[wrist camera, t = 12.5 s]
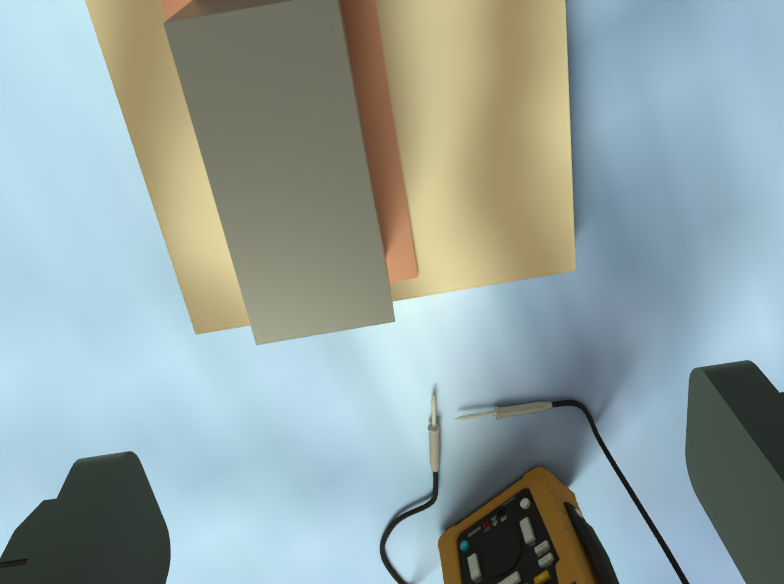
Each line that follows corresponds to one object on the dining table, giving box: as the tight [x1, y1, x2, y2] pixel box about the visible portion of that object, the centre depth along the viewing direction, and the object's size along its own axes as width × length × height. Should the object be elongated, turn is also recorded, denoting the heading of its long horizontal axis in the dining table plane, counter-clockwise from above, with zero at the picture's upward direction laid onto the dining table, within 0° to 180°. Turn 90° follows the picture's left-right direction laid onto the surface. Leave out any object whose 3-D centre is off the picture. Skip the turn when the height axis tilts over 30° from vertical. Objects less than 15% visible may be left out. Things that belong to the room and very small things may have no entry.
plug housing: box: [163, 0, 395, 345], centre depth 25 cm, size 5×11×5 cm, turn 9°
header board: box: [85, 0, 576, 334], centre depth 27 cm, size 16×15×5 cm
